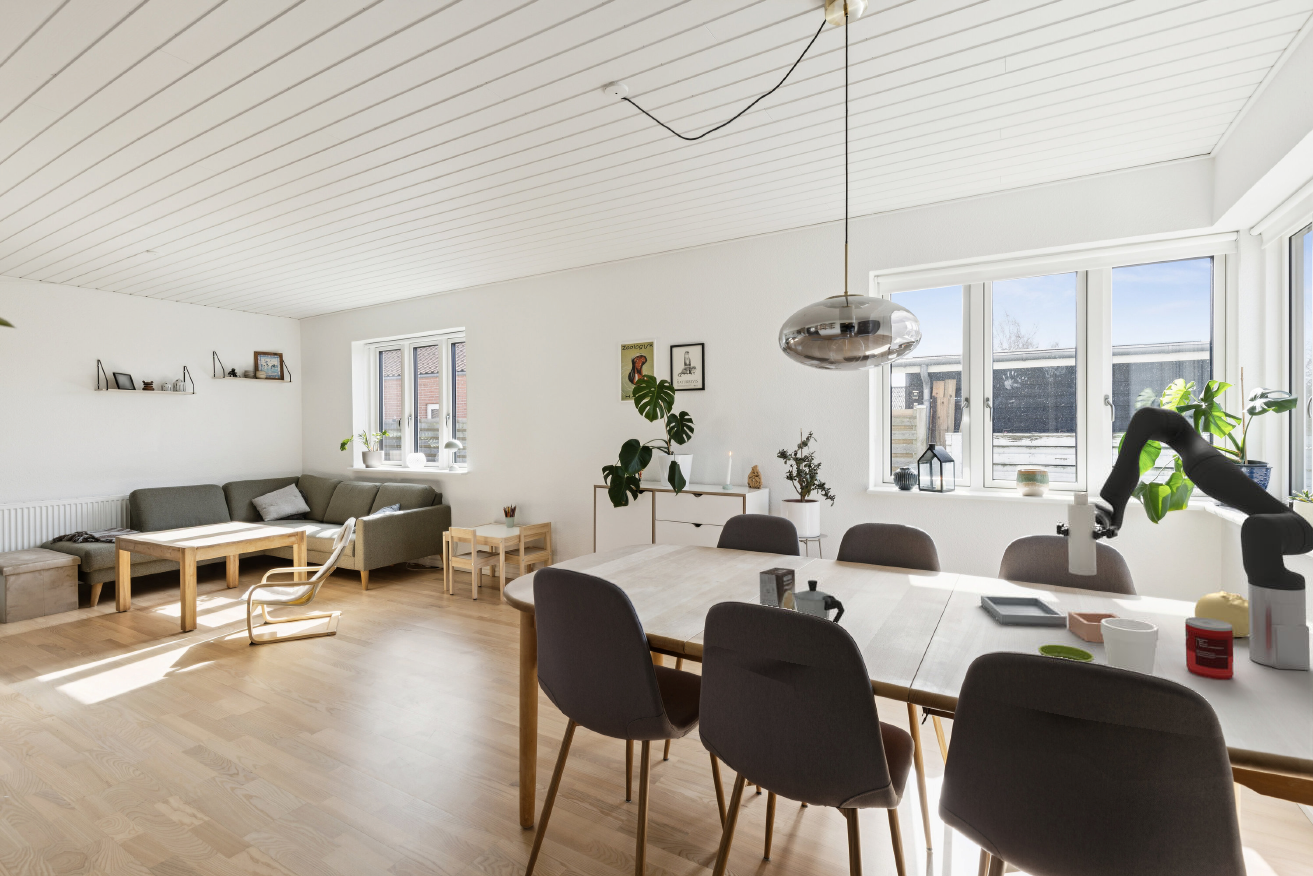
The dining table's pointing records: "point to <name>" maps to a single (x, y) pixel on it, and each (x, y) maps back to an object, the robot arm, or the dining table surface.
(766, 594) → the coffee box
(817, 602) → the coffee maker
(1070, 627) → the holder
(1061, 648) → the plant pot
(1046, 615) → the tray
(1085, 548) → the bottle
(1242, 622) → the sculpture
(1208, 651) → the canned food
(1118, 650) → the foam cup
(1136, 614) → the dining table surface
